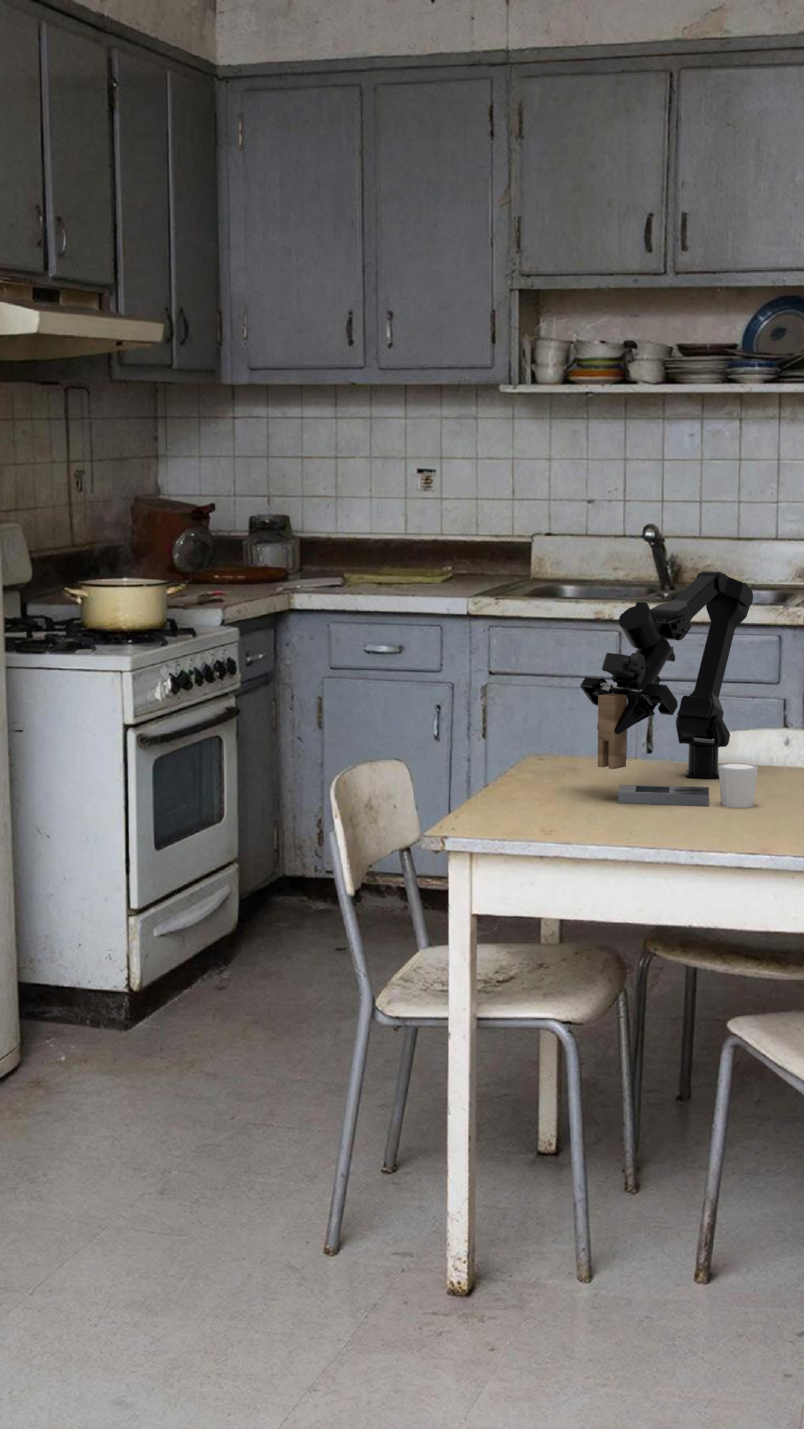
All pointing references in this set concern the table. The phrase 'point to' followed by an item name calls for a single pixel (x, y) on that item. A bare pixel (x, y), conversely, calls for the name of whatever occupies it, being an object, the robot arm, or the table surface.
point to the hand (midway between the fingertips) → (607, 731)
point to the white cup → (737, 784)
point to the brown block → (611, 731)
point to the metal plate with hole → (663, 795)
